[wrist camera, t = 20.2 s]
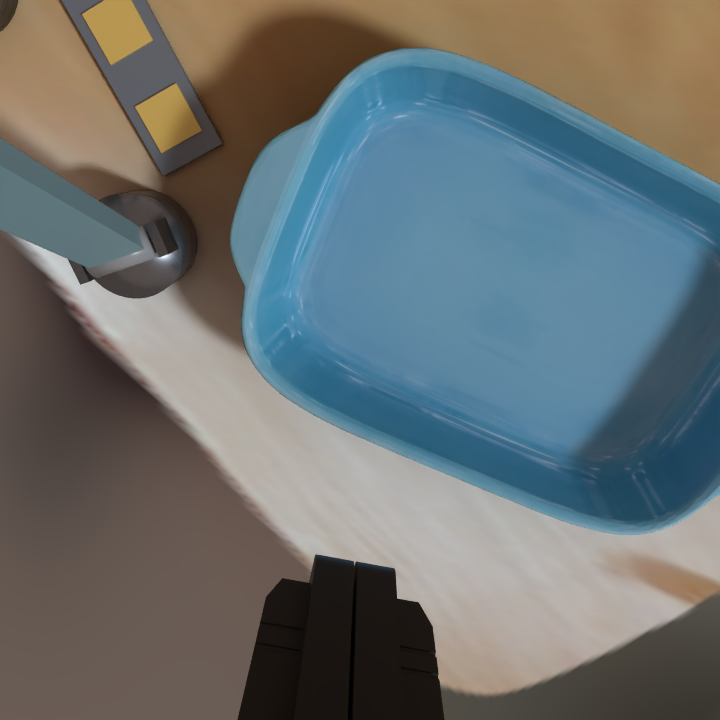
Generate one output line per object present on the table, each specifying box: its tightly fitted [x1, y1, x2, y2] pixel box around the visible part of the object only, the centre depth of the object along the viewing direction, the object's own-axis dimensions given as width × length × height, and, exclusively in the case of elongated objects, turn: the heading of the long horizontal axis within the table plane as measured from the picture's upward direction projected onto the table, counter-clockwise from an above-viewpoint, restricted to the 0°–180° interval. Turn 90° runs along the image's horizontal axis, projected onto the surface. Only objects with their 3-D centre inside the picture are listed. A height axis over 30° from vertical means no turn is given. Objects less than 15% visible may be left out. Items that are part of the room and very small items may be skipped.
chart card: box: [62, 0, 223, 176], centre depth 36 cm, size 11×4×1 cm, turn 26°
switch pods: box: [0, 0, 197, 298], centre depth 35 cm, size 24×6×6 cm, turn 31°
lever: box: [0, 138, 159, 278], centre depth 28 cm, size 2×4×18 cm, turn 109°
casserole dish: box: [230, 48, 720, 535], centre depth 38 cm, size 37×22×7 cm, turn 66°
